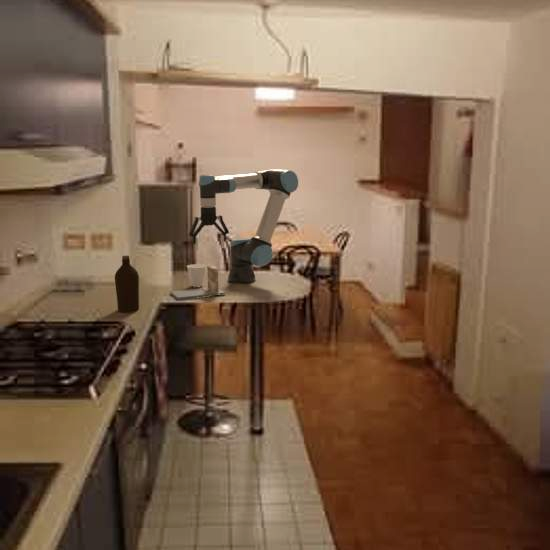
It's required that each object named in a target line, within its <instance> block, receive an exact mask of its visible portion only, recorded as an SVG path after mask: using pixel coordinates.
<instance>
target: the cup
mask: <svg viewBox="0 0 550 550" xmlns="http://www.w3.org/2000/svg"><path fill="white" fill-rule="evenodd" d="M186 268H187V273H188V274H187V275H188V277H189V283H190V287H192V286H193V287H192V288H195V287H197V288H199V287H198V286H202V285H204V284H203V283H204V279H205V278H204V277H205V271H206V268H207V267H206V265H205V264H199V263H196V264H193V263H192V264H188V265H186ZM202 287H203V286H202Z"/></svg>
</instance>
